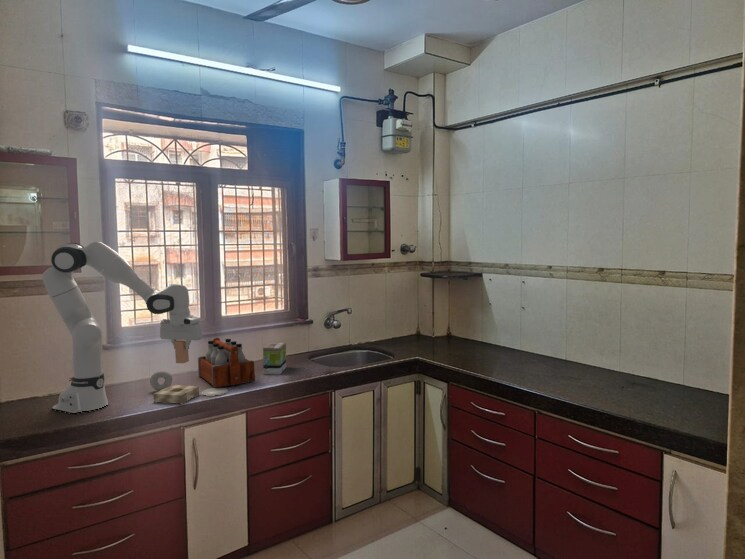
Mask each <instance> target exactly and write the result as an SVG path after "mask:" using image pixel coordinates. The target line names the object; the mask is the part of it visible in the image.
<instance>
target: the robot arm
mask: <svg viewBox="0 0 745 559" xmlns="http://www.w3.org/2000/svg"><path fill="white" fill-rule="evenodd" d="M50 262H51V264H52V266H51V267H49V268H47V269H46V270H45V271H44V272H43V273H42V276H41V277H42V281H43V286H44V287H45V290H46V292H47V293H48V296H49V298H50V300H51V301H52V303H53V305H54V306H55V308H56V310H57V312H58V314H59V316H60V318H61V319H62V321H63V323H64V325H65V326H66V328H67V329H68V331H69V334H70V335H71V338H72V366H73V368H72V369H73V377H70V378H69V379H68V382H70V385H69V386H68V387H66V389H64V390H63V391H62V392H61V393H60V394H59V396H58V402H57V404H55V405H53V406H52V407H51V408H53V409H58V410H63V411H67V412H72V413H76V412H81V413H83V412H82V411H89V410H94V409H98V410H100V409H99V408H102V407H104V406H106V405H108V403H109V399H108V398H107V393H106V392H107V391H106V387H105V373H103V372H104V370H103V329H102V327H101V326H100V324H99V323H98V321H97V319H96V318H95V315H94V314H93V312H92V310H91V308H90V307H89V305H88V302H87V300H86V299H85V296H84V295H83V293H82V291H81V289H80V287H79V286H78V283H77V282H76V280H75V278H74V272H75V271H77V270H80V269H81V268H83V267H85V266H89V267H91V268H93V269H94V270H96V272H98V273H99V275H101V276H103V277H104V278H106V279H108V280H109V281H111V282H113V283H115V284H120V285H123V286H125V287H127V288H129V289H131V291H133V292H134V293H135V294H136V295H137V296H139V297H140V298H142V300H143V301H144V303H145V305H146V309H147V311H149V312H150V313H152V314H154V315H162V314H165V313H169V318H168V319H167V318H163V319H161V321H160V327H159V328H160V330H159V337H160V338H161V340H170V343H172V346H173V349H174V350H175V341H178V340H186V342H187V344H186V345H185V346H184V349H185V350H188V351H189V349H190V345H191V343H192V341H200V340H201V339H202V338H203V328H202V325H201V323H200V322H201V318H200V317H198V316H195V315H193V314H191V311H190V308H189V307H190V297H189V295H190V294H189V290H188V287H186V286H185V285H183V284H178V283H171V284H169V285H168V286H167V287H165V288H163V289H161V290H160V289H157V288H154V287H153V286H151V285H149V284H148V283H147V282H146V281H144V279H142V278H141V277H140V276H139V275H138V274H137V273H136V272H135V270H134V269H133V268H132V266H131V265H130V263H129V262H128V261H127V260H126V259H125V258H124V257H123V256H122V255H121V254H119V253H118V252H117V251H115V250H114V249H113V248H111V247H110V246H109V245H106V244H105V243H103V242H102V241H93V242H90V243H89V244H88V245H86V246H83V245H81V244H80V243H77V242H69V243H66V244H63V245H60V246H59V247H58V248H57V249H56V250H54V251H53V252H52V255H51V258H50ZM108 406H109V405H108ZM106 407H107V406H106ZM104 408H105V407H104ZM102 409H103V408H102ZM94 411H95V410H94ZM89 412H90V411H89Z"/></svg>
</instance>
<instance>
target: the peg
mask: <svg viewBox="0 0 745 559" xmlns="http://www.w3.org/2000/svg"><path fill="white" fill-rule="evenodd" d="M186 344H187V342H186V340H177V341H175V349H174V352H175V353H174V354H175V356H174V357H175V363H176V364H186V363H188V362H189V361H190V360H189V359H190V358H189V349H188V350H185V349H184V346H185V345H186Z"/></svg>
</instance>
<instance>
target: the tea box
mask: <svg viewBox="0 0 745 559" xmlns="http://www.w3.org/2000/svg"><path fill="white" fill-rule="evenodd" d="M262 350H263V351H262V354H263V355H262V360H263V361H262V368H263V369H262V374H263V375H281V374H282V373H283V372H284V370H285V369H286V368H287V343H286V342H268V343H267V344H266V345H265V346H264V347H263V348H262Z"/></svg>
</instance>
